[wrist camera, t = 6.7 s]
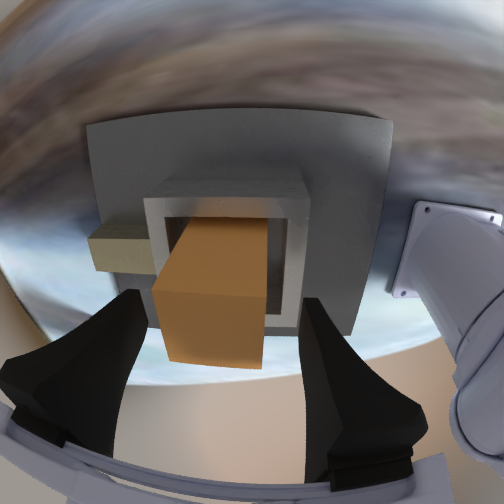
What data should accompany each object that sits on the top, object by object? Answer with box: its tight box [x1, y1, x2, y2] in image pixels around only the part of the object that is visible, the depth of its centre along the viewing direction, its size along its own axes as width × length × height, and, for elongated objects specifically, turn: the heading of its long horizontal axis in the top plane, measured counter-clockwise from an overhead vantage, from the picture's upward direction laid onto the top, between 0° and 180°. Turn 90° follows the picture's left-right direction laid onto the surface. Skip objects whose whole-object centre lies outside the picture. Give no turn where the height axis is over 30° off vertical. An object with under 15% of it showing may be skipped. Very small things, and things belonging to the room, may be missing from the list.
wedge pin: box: [151, 217, 268, 369], centre depth 14 cm, size 4×4×8 cm
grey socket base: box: [86, 108, 394, 336], centre depth 17 cm, size 18×16×4 cm
